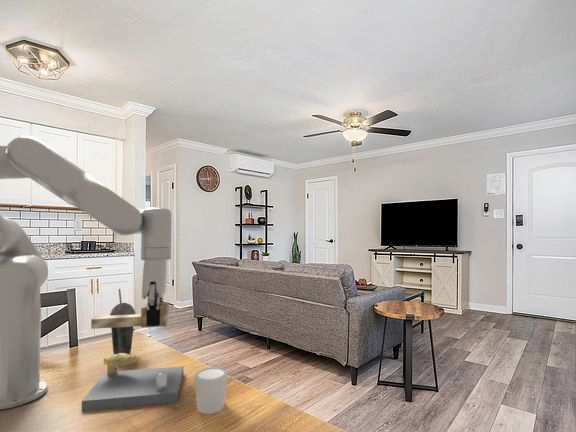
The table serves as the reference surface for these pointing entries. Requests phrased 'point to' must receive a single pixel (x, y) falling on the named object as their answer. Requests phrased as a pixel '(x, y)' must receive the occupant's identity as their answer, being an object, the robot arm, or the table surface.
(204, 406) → the white cylinder
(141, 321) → the link
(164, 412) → the table surface
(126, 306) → the beverage cup
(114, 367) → the block
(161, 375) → the pintle
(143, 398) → the board
